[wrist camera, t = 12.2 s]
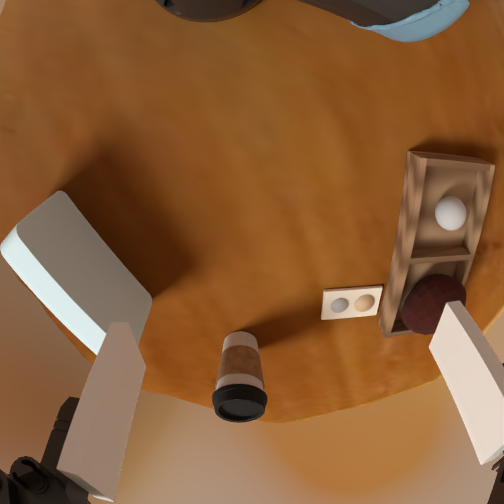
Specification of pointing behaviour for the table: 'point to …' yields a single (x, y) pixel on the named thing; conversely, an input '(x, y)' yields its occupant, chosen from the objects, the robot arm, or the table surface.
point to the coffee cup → (239, 380)
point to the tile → (350, 302)
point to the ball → (450, 213)
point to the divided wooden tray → (434, 227)
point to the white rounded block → (75, 272)
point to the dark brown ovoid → (430, 302)
